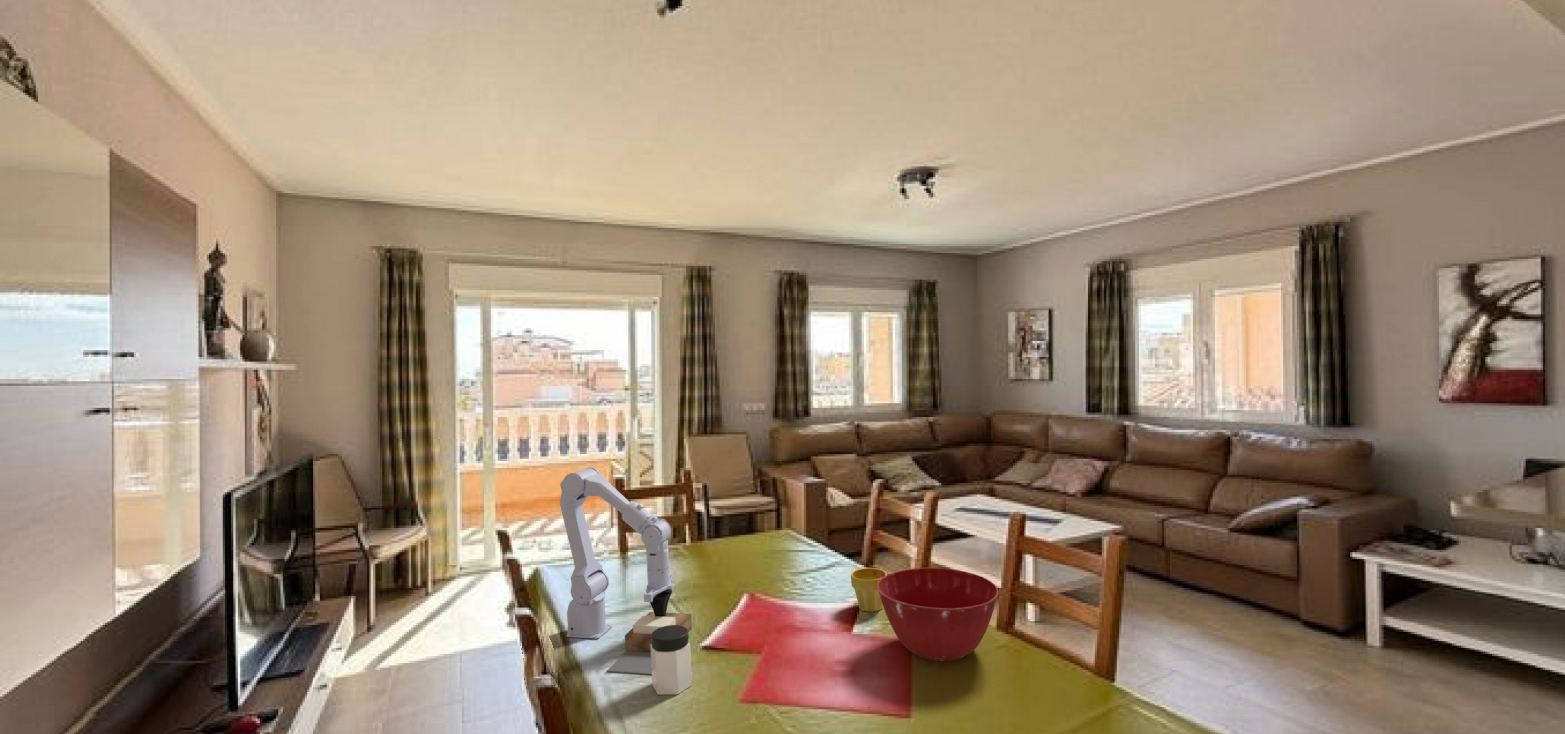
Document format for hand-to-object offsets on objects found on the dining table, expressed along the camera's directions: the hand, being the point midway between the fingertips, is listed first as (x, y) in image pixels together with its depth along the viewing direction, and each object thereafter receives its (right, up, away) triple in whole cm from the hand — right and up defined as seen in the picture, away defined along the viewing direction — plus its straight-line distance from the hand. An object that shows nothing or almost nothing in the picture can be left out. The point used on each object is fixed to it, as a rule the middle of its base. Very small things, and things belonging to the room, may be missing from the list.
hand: (660, 619), depth 167 cm
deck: (0, -5, -1) cm, 5 cm away
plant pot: (+57, -3, +14) cm, 59 cm away
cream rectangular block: (-1, -1, -4) cm, 4 cm away
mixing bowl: (+70, -2, -13) cm, 71 cm away
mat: (-2, -5, -14) cm, 15 cm away
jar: (+7, -5, -25) cm, 27 cm away
